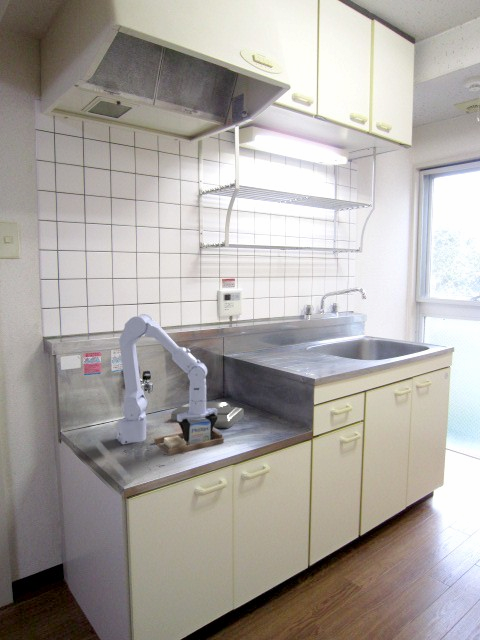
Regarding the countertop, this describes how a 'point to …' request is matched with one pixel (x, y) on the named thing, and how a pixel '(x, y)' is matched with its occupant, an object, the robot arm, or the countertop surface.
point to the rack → (216, 440)
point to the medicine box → (199, 430)
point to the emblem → (224, 413)
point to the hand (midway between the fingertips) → (197, 438)
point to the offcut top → (174, 442)
